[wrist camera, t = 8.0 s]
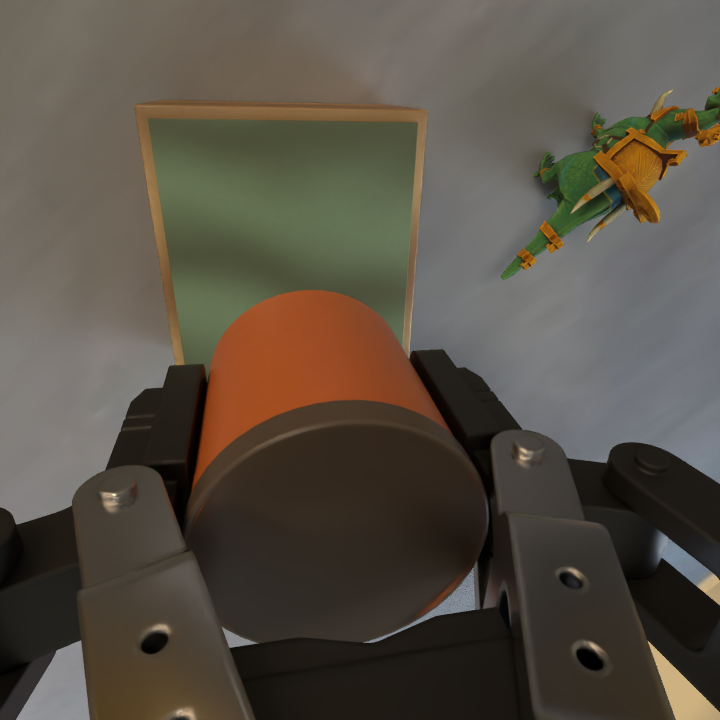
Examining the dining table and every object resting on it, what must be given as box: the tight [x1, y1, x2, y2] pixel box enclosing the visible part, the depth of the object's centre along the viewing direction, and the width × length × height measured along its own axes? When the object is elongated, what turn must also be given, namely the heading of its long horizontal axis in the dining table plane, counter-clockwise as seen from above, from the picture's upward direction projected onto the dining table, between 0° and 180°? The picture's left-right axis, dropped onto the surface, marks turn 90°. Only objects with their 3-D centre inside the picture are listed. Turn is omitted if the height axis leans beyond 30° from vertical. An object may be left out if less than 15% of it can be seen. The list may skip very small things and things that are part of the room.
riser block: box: [134, 100, 428, 382], centre depth 23 cm, size 12×10×6 cm
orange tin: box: [182, 290, 489, 643], centre depth 10 cm, size 5×5×5 cm
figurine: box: [501, 87, 720, 280], centre depth 23 cm, size 3×12×8 cm, turn 129°
